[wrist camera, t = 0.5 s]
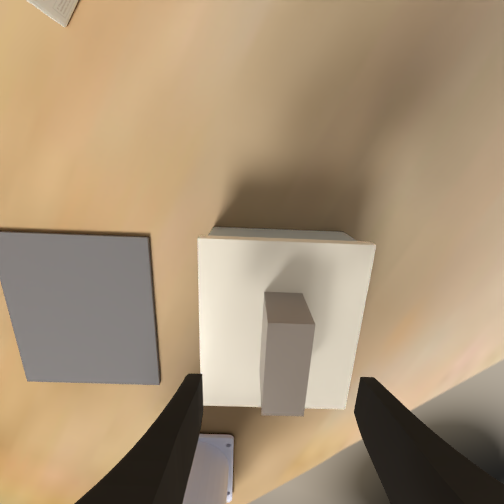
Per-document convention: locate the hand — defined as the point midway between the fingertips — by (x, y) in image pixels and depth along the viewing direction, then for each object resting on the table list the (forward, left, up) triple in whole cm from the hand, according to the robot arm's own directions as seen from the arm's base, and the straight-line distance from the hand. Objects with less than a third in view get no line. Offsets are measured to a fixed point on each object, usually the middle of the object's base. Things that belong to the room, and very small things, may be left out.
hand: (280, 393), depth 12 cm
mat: (-3, +15, -10) cm, 19 cm away
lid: (-1, -1, -6) cm, 6 cm away
